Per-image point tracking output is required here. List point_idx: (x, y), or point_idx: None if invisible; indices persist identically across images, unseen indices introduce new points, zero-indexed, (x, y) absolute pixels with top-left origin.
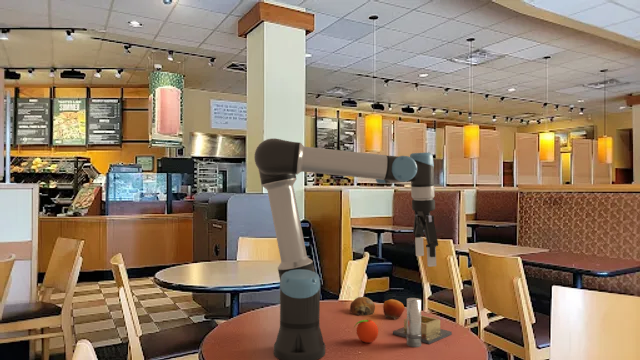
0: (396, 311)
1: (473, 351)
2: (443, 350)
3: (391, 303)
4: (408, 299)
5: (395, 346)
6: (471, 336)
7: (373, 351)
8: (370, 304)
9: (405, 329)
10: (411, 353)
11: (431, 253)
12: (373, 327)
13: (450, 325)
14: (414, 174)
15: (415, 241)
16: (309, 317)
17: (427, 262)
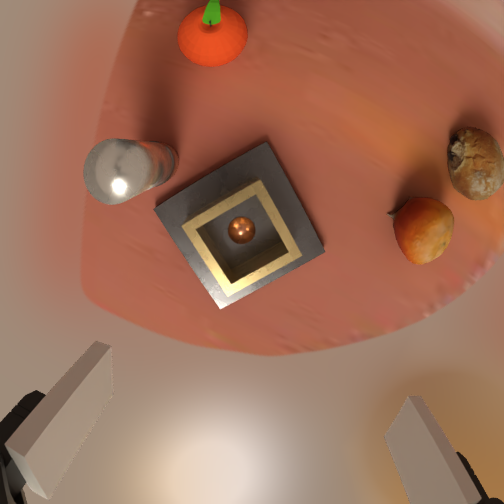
0: (398, 224)
1: (97, 286)
2: (108, 221)
3: (423, 218)
4: (117, 146)
5: (159, 107)
6: (198, 341)
7: (140, 43)
8: (468, 178)
9: (252, 179)
10: (102, 131)
11: (16, 410)
12: (181, 38)
13: (296, 338)
14: None
15: (464, 476)
16: None
17: (95, 360)
